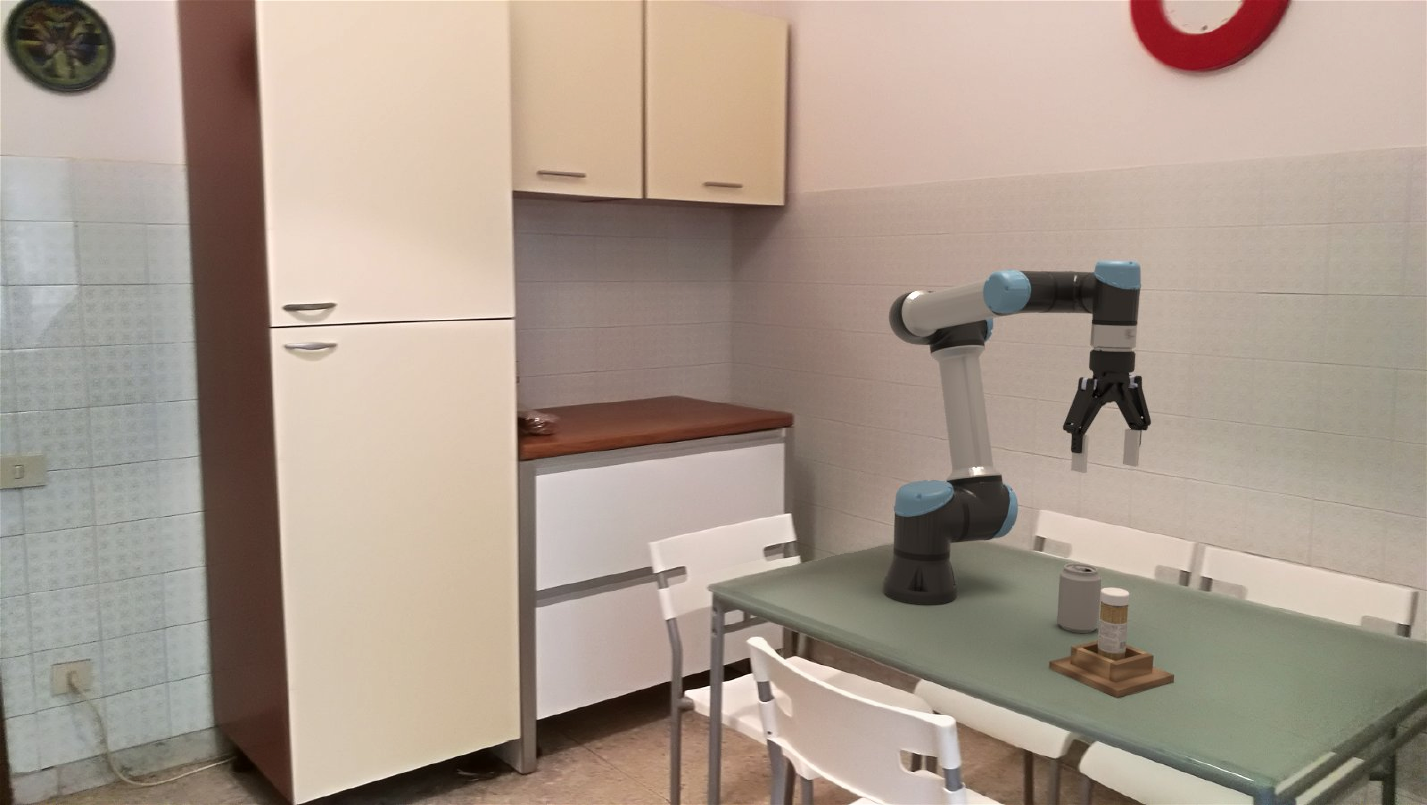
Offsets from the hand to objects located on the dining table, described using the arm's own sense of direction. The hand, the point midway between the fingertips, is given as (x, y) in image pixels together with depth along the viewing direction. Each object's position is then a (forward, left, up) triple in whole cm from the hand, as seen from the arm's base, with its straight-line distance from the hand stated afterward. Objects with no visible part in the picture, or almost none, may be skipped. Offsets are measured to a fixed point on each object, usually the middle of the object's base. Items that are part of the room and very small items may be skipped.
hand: (1105, 468), depth 184 cm
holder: (+11, -9, -33) cm, 36 cm away
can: (-8, +5, -33) cm, 34 cm away
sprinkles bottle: (+11, -9, -32) cm, 35 cm away
